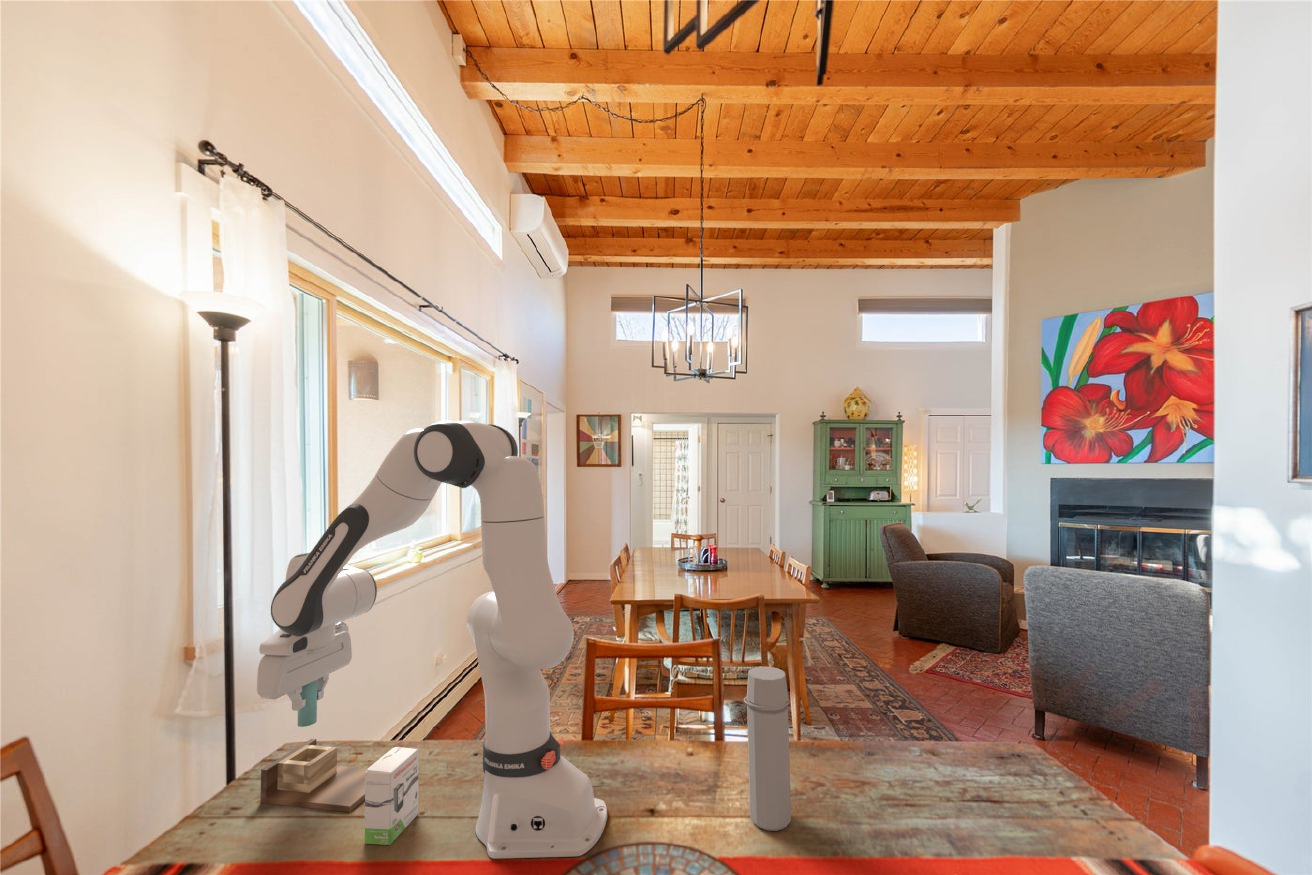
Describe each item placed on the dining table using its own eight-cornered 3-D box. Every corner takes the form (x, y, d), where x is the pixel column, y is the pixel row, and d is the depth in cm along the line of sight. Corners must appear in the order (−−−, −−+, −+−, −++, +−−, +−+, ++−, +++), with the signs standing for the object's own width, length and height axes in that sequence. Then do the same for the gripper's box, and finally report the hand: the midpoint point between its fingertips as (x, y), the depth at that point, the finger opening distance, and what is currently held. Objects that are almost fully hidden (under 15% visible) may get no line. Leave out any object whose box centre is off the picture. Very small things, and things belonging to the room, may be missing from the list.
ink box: (390, 846, 91) (390, 772, 92) (362, 844, 92) (363, 771, 93) (419, 814, 100) (419, 746, 100) (394, 812, 100) (394, 745, 101)
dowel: (320, 719, 111) (321, 668, 112) (307, 727, 108) (309, 674, 108) (306, 718, 112) (307, 667, 112) (293, 726, 108) (294, 673, 109)
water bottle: (800, 830, 93) (796, 679, 95) (755, 836, 92) (751, 682, 93) (779, 798, 102) (775, 660, 104) (738, 803, 101) (735, 663, 102)
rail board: (392, 775, 112) (392, 745, 113) (350, 811, 101) (350, 777, 101) (311, 768, 116) (311, 738, 116) (260, 802, 104) (261, 769, 104)
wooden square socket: (336, 772, 112) (337, 747, 112) (309, 792, 105) (309, 765, 105) (306, 769, 113) (306, 744, 114) (277, 789, 106) (277, 762, 107)
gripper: (334, 618, 121) (333, 683, 121) (251, 648, 101) (248, 726, 101) (360, 619, 120) (359, 685, 120) (281, 649, 100) (278, 728, 99)
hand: (307, 704), depth 110 cm, fingers closed on dowel, 3 cm apart
